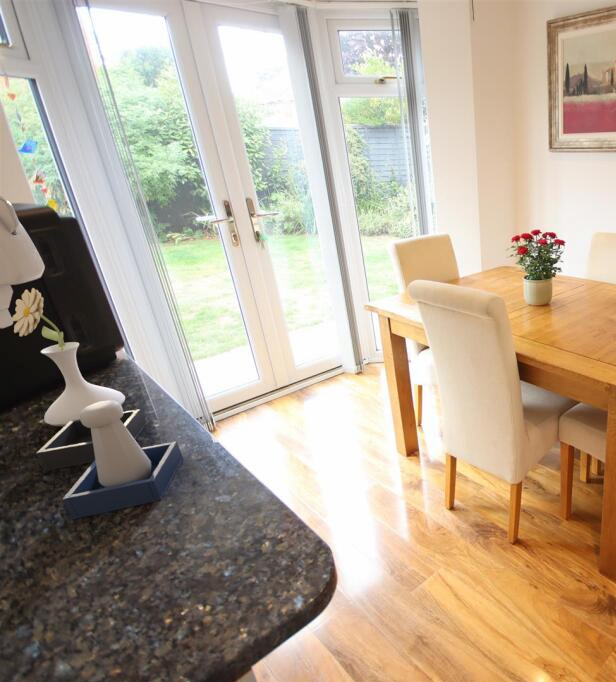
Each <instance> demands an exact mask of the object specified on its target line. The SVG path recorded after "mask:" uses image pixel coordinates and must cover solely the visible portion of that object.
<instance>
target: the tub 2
mask: <svg viewBox="0 0 616 682" xmlns="http://www.w3.org/2000/svg"><path fill="white" fill-rule="evenodd" d="M141 449H142V450H143V451H144V453H145V454H146V455H147V457H148V458H149V460H150V461H151V473H150V479H146V480H141V481H136V482H132V483H127V484H122V485H117V486H112V487H107V488H105V487H104V486H102V485H101V484H100V483H99V479H98V473H97V466H96V460H95V461H94V462H91V464H90V465H89V466H88V468H87V469H86V470H85V471H84V472H83V474H82V475H81V476H80V477H79V479H77V481H76V482H75V483H74V484H73V486H72V487H71V488H70V489H69V491H67V493H66V494H65V495H64V496H63V498H62V499H61V500H62V502H63V504H64V506H65V508H66V510H67V512H68V514H69V516H70V518H71V520H77V519H81V518H86V517H90V516H95V515H101V514H103V513H108V512H109V513H110V512H113V511H117V510H123V509H128V508H131V507H137V506H139V505H140V506H141V505H145V504H150V503H155V502H159V501H162V500H163V498H164V496H165V494H166V493H167V490H168V489H169V487H170V485H171V483H172V481H173V480H174V477H175V475H176V473H177V472H178V469H179V468H180V466H181V464H182V463H183V460H184V457H183V455H182V452H181V449H180V446H179V443H178V441H172V442H165V443H160V444H154V445H149V446H144V447H141Z"/></svg>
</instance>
